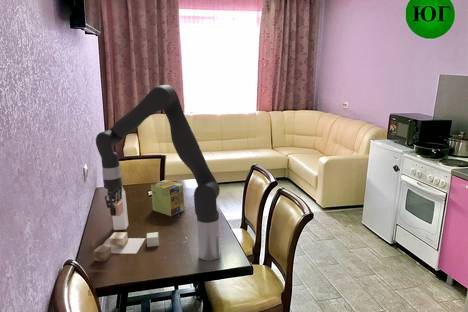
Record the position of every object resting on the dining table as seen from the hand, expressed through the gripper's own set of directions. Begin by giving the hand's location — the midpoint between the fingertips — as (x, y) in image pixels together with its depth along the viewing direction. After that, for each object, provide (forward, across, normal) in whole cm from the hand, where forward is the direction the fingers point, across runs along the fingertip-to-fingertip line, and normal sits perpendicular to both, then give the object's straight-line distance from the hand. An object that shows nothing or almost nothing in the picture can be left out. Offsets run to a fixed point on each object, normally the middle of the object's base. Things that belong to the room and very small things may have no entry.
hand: (115, 212), depth 163 cm
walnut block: (+17, -11, +3) cm, 20 cm away
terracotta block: (0, 0, 0) cm, 0 cm away
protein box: (+17, +42, -13) cm, 47 cm away
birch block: (+16, 0, 0) cm, 16 cm away
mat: (+17, 0, -1) cm, 17 cm away
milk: (+17, +19, +6) cm, 26 cm away
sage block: (+17, +2, -15) cm, 23 cm away
